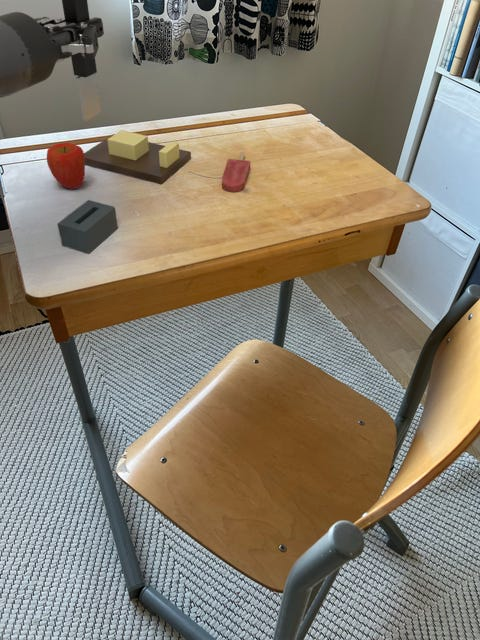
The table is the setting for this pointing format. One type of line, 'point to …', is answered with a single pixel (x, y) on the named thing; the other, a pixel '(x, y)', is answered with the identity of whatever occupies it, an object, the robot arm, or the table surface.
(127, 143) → the butter block
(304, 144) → the table surface
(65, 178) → the apple
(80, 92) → the knife
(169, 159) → the butter slice
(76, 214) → the knife stand
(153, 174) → the butter board
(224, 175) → the popsicle
